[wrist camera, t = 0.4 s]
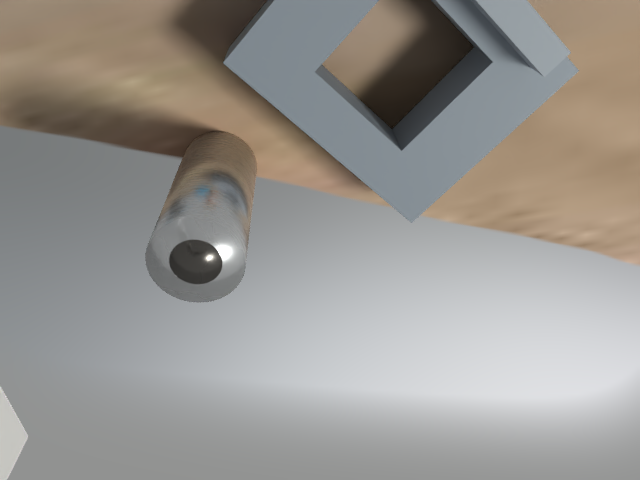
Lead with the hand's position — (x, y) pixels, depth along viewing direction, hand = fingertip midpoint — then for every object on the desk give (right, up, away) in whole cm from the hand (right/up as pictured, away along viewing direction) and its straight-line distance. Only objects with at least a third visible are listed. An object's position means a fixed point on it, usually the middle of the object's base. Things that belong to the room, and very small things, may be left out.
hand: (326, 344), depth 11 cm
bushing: (-6, +7, +25) cm, 27 cm away
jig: (+4, +13, +22) cm, 26 cm away
